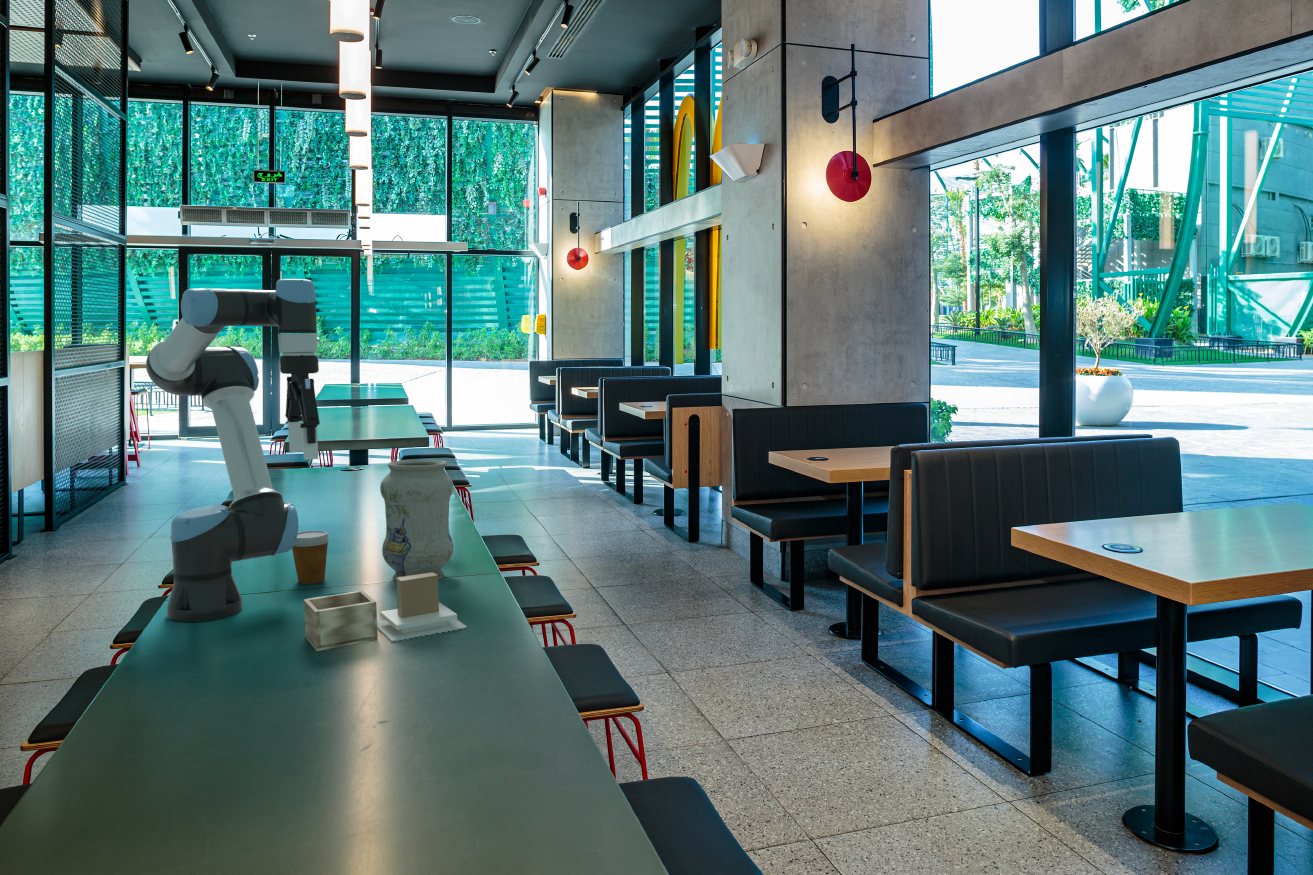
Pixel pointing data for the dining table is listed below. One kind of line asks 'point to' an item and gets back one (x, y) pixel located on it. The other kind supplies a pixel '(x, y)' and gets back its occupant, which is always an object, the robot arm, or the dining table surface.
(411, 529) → the vase
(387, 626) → the tray
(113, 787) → the dining table surface
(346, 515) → the dining table surface
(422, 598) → the lid
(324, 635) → the crate
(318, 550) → the disposable coffee cup
